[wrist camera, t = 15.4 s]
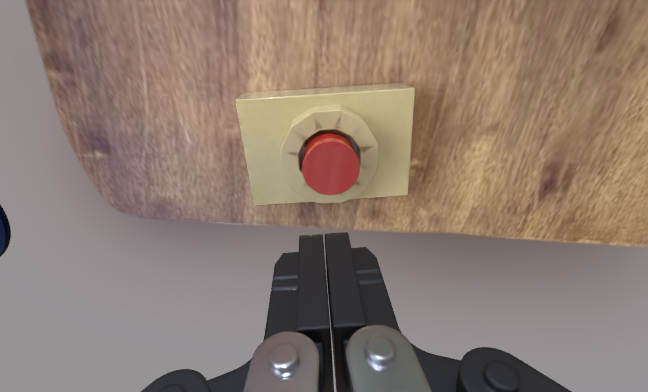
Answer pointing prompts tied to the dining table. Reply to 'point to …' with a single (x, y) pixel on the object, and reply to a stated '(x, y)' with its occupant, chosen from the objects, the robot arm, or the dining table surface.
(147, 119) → the dining table surface
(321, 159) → the push button
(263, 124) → the button base
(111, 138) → the dining table surface
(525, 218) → the dining table surface
